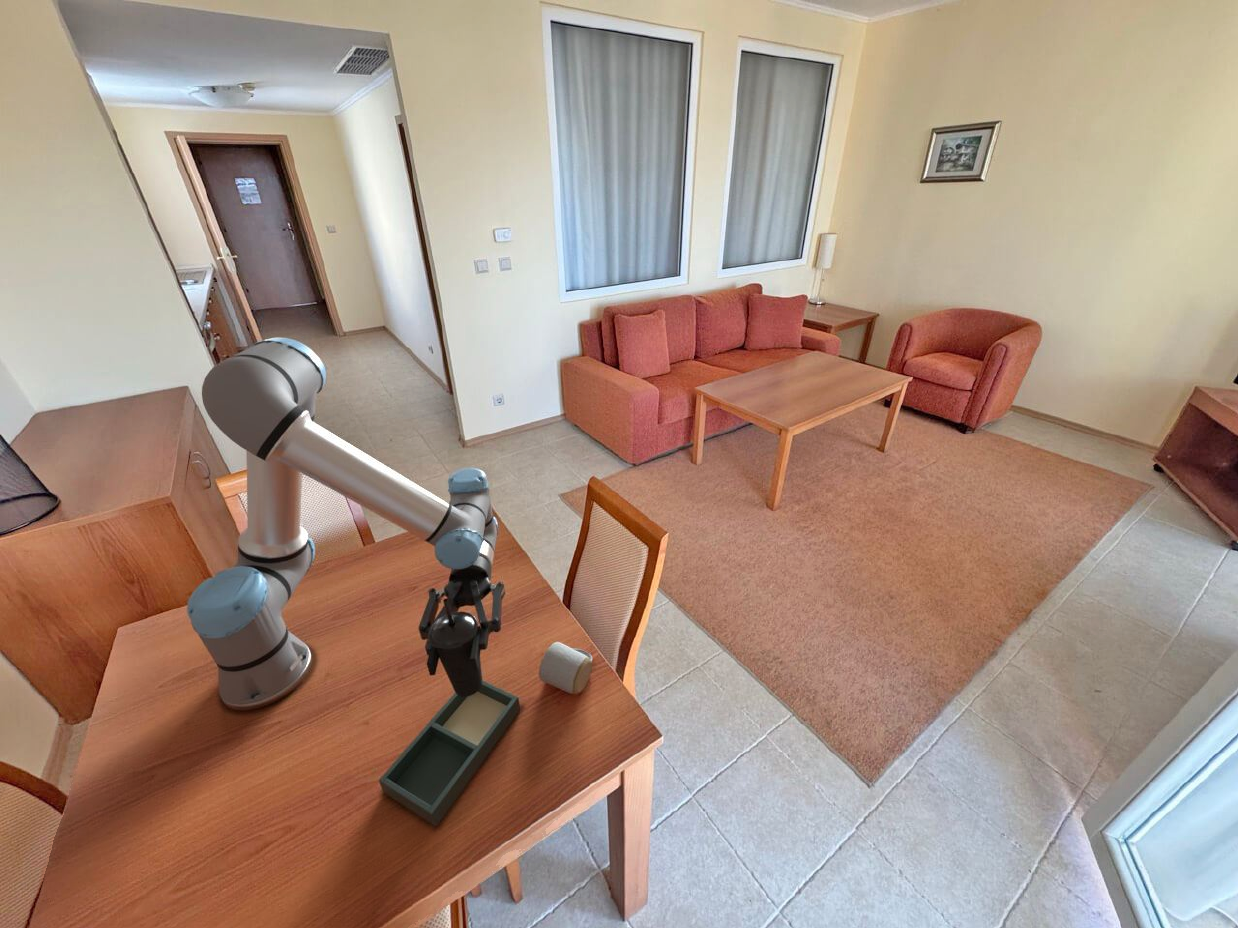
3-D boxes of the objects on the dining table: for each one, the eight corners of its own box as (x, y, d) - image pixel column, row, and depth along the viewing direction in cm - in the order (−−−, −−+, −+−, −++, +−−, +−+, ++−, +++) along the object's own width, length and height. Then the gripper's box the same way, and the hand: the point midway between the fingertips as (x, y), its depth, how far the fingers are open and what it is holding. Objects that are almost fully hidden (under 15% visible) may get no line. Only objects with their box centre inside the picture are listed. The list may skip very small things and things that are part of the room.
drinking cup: (445, 672, 89) (420, 589, 79) (488, 661, 90) (469, 578, 81) (445, 710, 82) (418, 624, 72) (492, 696, 84) (472, 611, 74)
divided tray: (383, 792, 79) (378, 780, 77) (473, 686, 96) (470, 674, 94) (436, 826, 75) (431, 813, 73) (520, 709, 92) (518, 696, 90)
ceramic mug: (576, 704, 92) (574, 676, 88) (539, 688, 95) (536, 661, 92) (602, 662, 101) (601, 635, 97) (567, 648, 104) (565, 622, 100)
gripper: (522, 578, 99) (516, 675, 79) (426, 587, 97) (395, 690, 77) (518, 548, 96) (511, 643, 76) (418, 557, 94) (383, 657, 74)
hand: (452, 666), depth 77 cm, fingers closed on drinking cup, 6 cm apart
